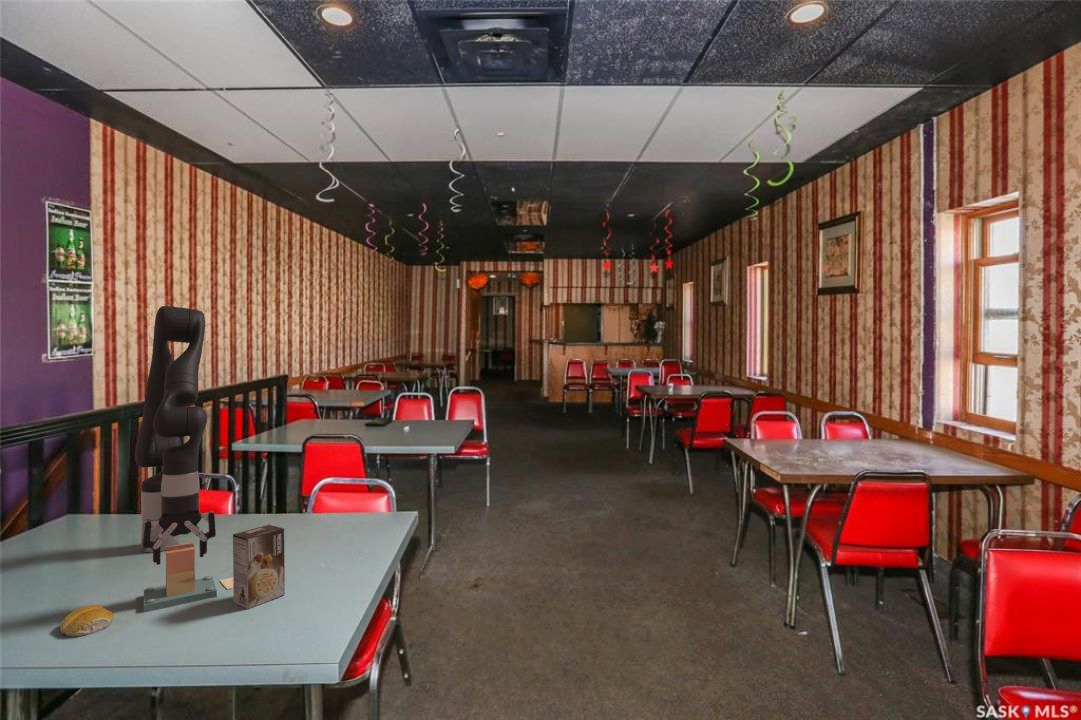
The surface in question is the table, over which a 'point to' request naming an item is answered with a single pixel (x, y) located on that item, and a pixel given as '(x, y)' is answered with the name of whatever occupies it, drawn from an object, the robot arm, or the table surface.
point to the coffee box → (258, 566)
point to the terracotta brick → (180, 558)
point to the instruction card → (227, 583)
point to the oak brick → (180, 583)
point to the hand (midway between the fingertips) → (180, 559)
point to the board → (159, 599)
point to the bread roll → (86, 621)
